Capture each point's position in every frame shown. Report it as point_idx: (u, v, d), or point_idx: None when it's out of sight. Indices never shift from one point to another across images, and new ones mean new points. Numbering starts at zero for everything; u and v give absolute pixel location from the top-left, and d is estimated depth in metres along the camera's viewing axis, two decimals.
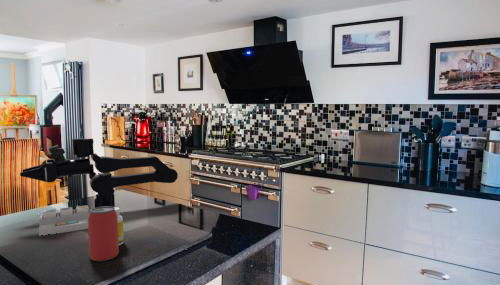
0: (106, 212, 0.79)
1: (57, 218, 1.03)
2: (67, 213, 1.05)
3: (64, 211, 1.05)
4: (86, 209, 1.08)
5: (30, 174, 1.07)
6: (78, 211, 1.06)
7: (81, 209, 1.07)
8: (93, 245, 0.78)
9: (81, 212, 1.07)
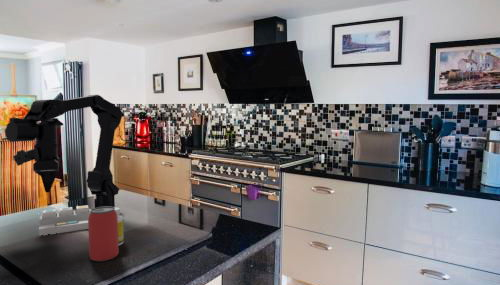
0: (106, 212, 0.79)
1: (57, 218, 1.03)
2: (67, 213, 1.05)
3: (64, 211, 1.05)
4: (86, 209, 1.08)
5: (48, 183, 0.99)
6: (78, 211, 1.06)
7: (81, 209, 1.07)
8: (93, 245, 0.78)
9: (81, 212, 1.07)
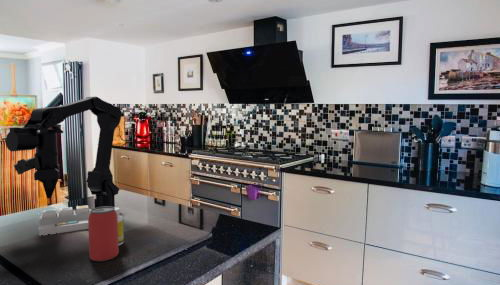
0: (106, 212, 0.79)
1: (57, 218, 1.03)
2: (67, 213, 1.05)
3: (64, 211, 1.05)
4: (86, 209, 1.08)
5: (49, 189, 1.03)
6: (78, 211, 1.06)
7: (81, 209, 1.07)
8: (93, 245, 0.78)
9: (81, 212, 1.07)
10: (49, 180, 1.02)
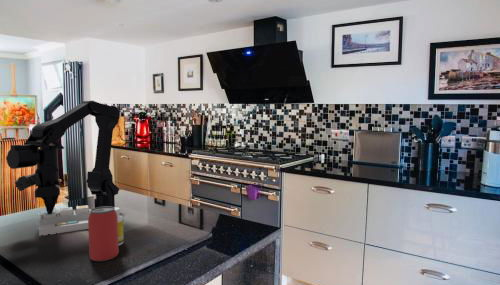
0: (106, 212, 0.79)
1: (57, 218, 1.03)
2: (67, 213, 1.05)
3: (64, 211, 1.05)
4: (86, 209, 1.08)
5: (50, 205, 1.03)
6: (78, 211, 1.06)
7: (81, 209, 1.07)
8: (93, 245, 0.78)
9: (81, 212, 1.07)
10: (50, 196, 1.03)
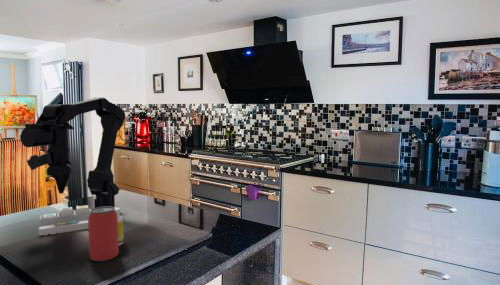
0: (106, 212, 0.79)
1: (57, 218, 1.03)
2: (67, 213, 1.05)
3: (64, 211, 1.05)
4: (86, 209, 1.08)
5: (61, 185, 1.04)
6: (78, 211, 1.06)
7: (81, 209, 1.07)
8: (93, 245, 0.78)
9: (81, 212, 1.07)
10: (61, 175, 1.04)
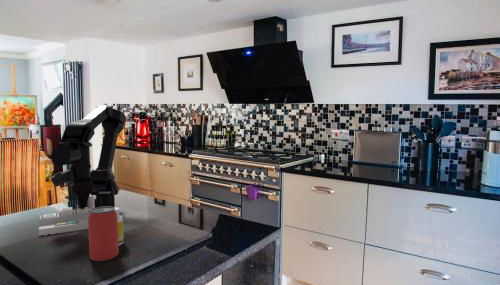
0: (106, 212, 0.79)
1: (57, 218, 1.03)
2: (67, 213, 1.05)
3: (64, 211, 1.05)
4: (86, 211, 1.08)
5: (83, 200, 1.07)
6: (78, 213, 1.07)
7: (81, 211, 1.07)
8: (93, 245, 0.78)
9: None
10: (83, 192, 1.07)
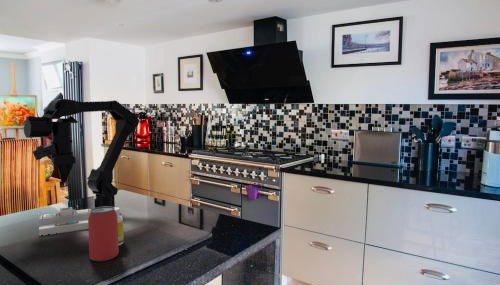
0: (106, 212, 0.79)
1: (57, 218, 1.03)
2: (67, 213, 1.05)
3: (64, 211, 1.05)
4: None
5: (64, 174, 1.11)
6: None
7: (81, 213, 1.07)
8: (93, 245, 0.78)
9: None
10: (64, 166, 1.11)
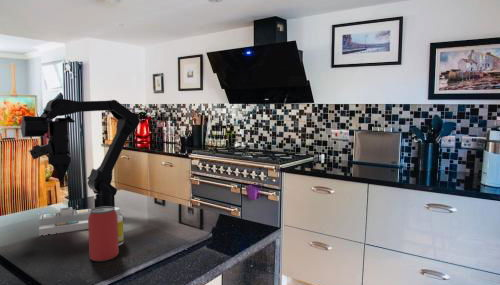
0: (106, 212, 0.79)
1: (57, 218, 1.03)
2: (67, 213, 1.05)
3: (64, 211, 1.05)
4: None
5: (61, 174, 1.12)
6: None
7: (81, 213, 1.07)
8: (93, 245, 0.78)
9: None
10: (61, 165, 1.12)
